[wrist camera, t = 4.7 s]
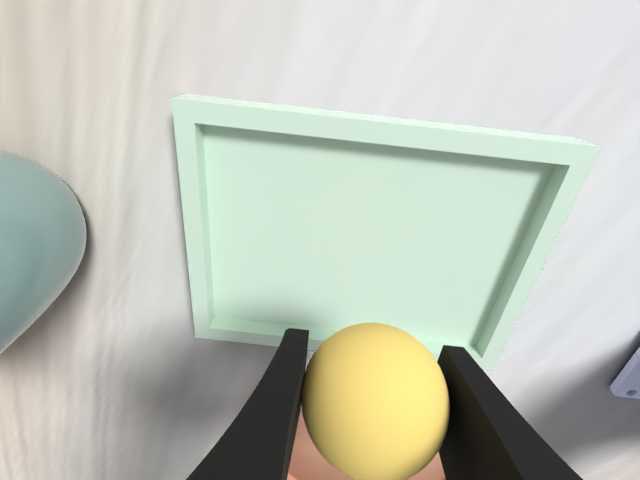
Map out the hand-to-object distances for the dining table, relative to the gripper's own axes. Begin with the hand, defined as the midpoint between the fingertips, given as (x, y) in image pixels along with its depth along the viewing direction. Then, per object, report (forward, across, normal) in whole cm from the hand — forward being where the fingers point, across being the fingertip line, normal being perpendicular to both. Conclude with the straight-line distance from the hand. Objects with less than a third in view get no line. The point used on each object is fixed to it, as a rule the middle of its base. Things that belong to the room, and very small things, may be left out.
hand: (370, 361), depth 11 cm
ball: (+1, 0, 0) cm, 1 cm away
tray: (+7, 0, 0) cm, 7 cm away
